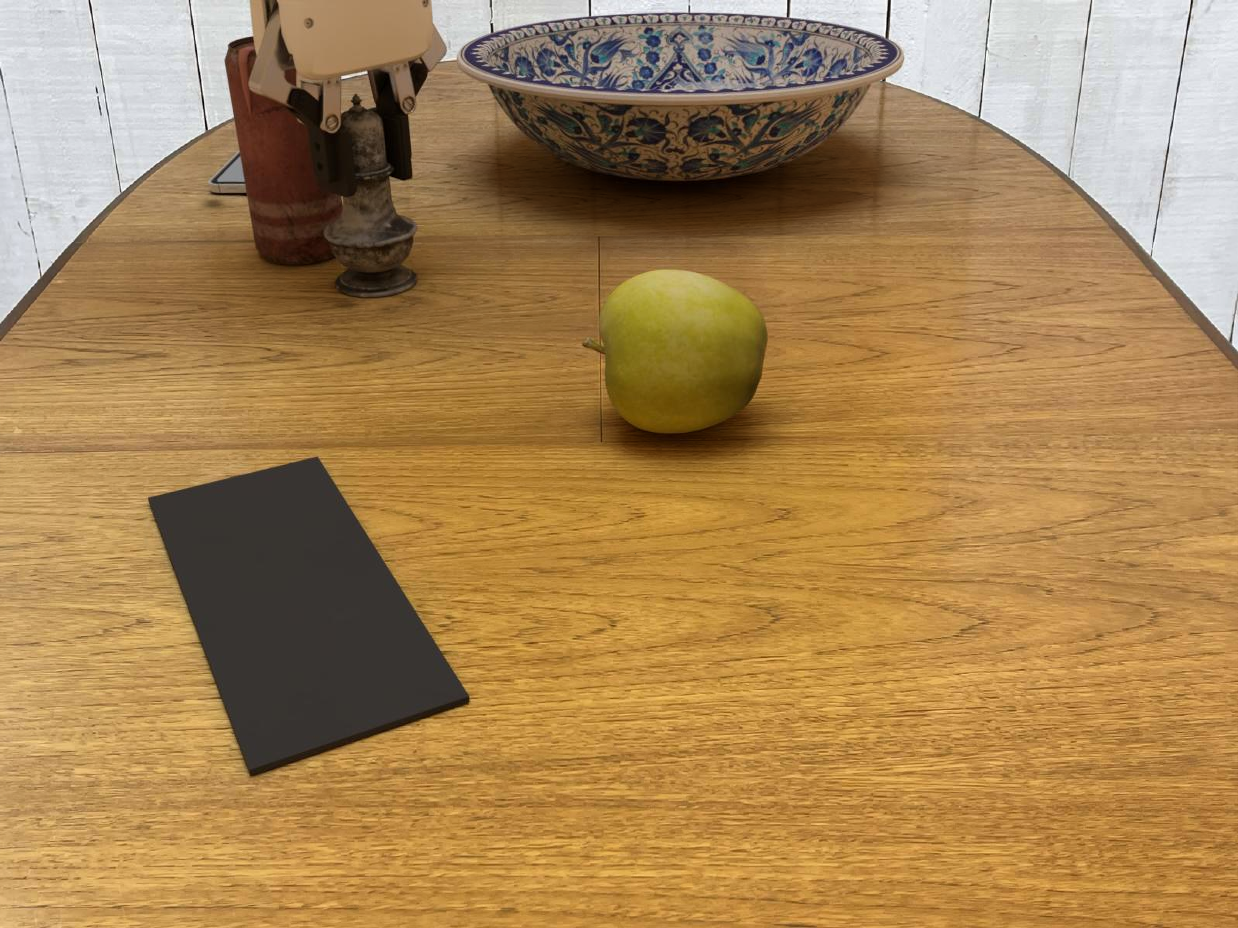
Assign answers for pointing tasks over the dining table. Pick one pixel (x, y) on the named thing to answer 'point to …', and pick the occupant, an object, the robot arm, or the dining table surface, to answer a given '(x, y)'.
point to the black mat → (299, 614)
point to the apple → (680, 350)
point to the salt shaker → (370, 217)
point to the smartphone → (229, 177)
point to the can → (278, 170)
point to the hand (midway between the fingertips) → (365, 180)
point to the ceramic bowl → (679, 88)
